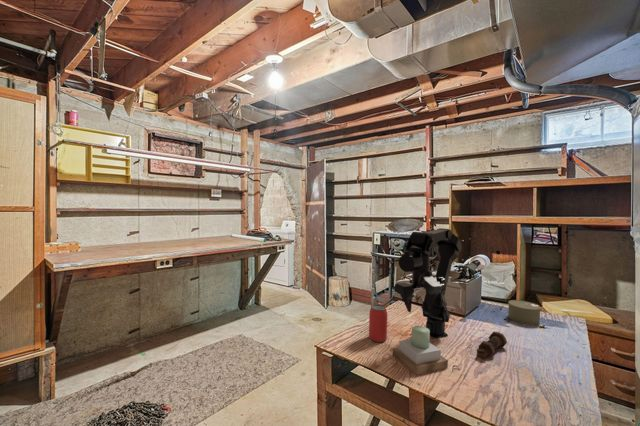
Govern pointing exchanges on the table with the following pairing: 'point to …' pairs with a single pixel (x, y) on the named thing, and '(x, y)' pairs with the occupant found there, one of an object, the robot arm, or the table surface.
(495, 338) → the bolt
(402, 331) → the table surface
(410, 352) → the grey top slab
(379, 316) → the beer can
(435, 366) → the walnut base slab
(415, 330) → the green cylinder
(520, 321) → the can
